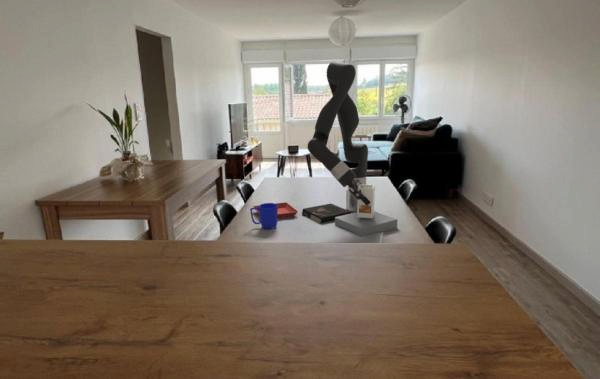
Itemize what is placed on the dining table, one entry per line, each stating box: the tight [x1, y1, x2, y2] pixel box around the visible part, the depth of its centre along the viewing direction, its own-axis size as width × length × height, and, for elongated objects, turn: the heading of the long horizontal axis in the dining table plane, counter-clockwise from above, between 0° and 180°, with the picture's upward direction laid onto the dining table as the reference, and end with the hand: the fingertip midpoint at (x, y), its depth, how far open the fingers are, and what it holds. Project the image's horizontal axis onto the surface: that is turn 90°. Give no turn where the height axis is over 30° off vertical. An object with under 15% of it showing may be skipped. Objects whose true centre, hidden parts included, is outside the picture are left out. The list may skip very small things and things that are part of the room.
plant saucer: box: [252, 202, 299, 220], centre depth 184 cm, size 18×18×3 cm
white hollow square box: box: [357, 184, 376, 218], centre depth 161 cm, size 6×6×13 cm
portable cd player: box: [301, 203, 352, 224], centre depth 177 cm, size 16×17×4 cm
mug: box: [249, 202, 278, 230], centre depth 165 cm, size 8×12×10 cm
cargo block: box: [360, 205, 371, 213], centre depth 162 cm, size 4×4×4 cm
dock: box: [334, 210, 398, 237], centre depth 163 cm, size 18×20×4 cm
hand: (369, 201), depth 160 cm, fingers closed on white hollow square box, 6 cm apart
